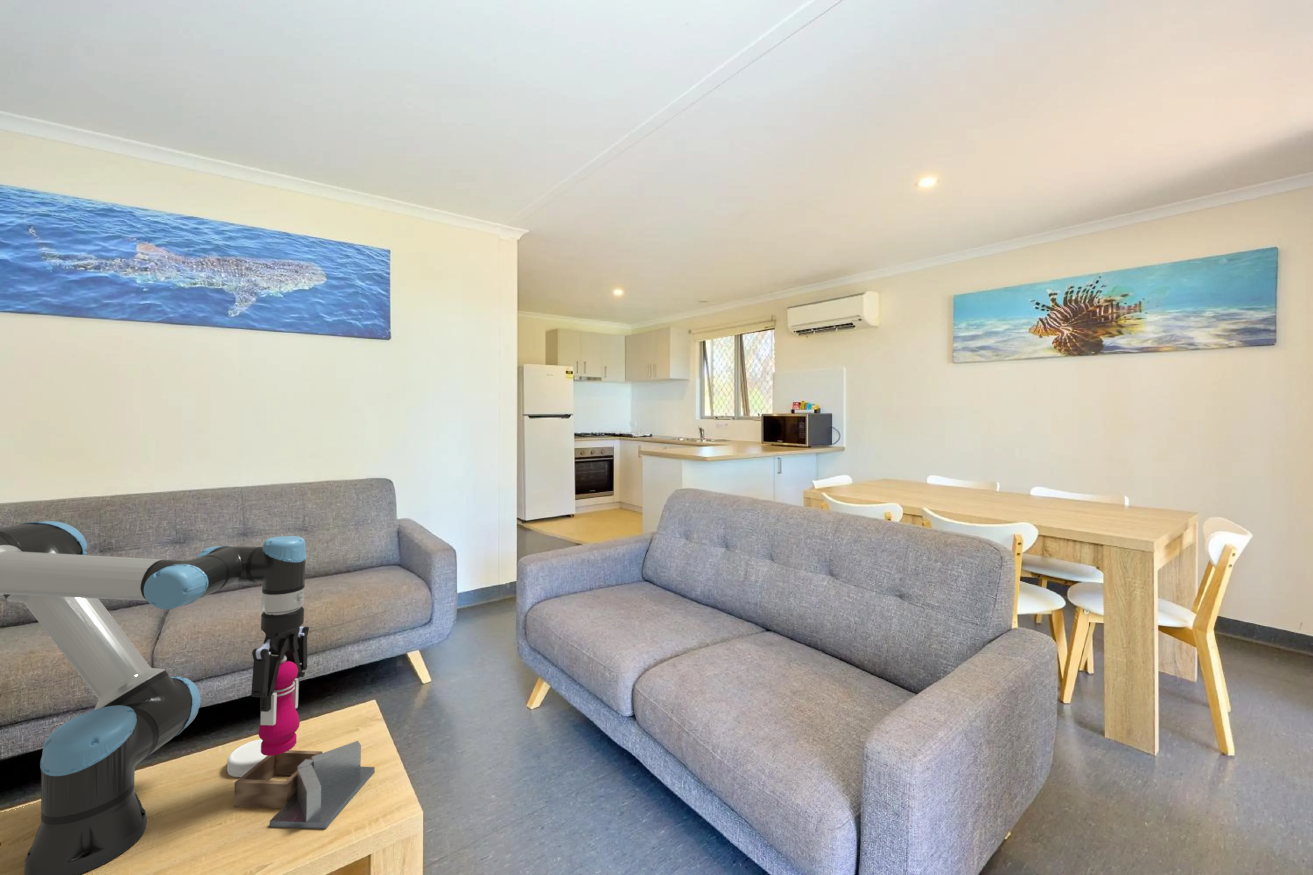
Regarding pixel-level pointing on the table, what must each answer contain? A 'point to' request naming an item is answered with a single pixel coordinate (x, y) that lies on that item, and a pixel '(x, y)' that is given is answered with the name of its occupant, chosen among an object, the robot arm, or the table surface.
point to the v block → (324, 788)
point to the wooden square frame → (266, 792)
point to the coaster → (244, 758)
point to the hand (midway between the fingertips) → (279, 715)
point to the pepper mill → (282, 714)
